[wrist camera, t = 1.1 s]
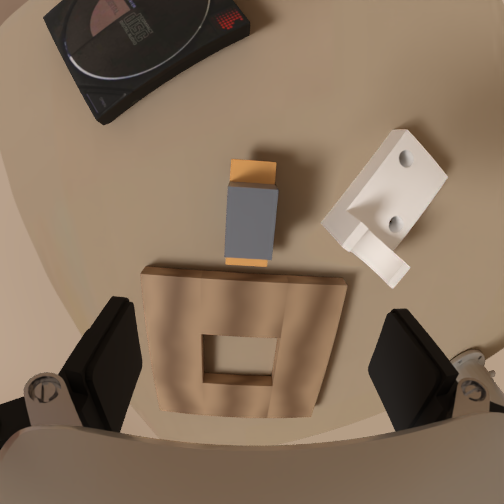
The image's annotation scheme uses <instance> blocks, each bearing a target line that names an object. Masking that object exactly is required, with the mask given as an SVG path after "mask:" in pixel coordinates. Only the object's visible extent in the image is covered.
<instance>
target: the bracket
mask: <svg viewBox="0 0 504 504" xmlns="http://www.w3.org/2000/svg"><path fill="white" fill-rule="evenodd" d="M447 178H448V176H447V175H446V174H445V172H444V171H443V170H442V169H441V167H440V166H439V165H438V164H437V162H436V161H435V160H434V159H433V158H432V156H431V155H430V154H429V153H428V152H427V151H426V149H425V148H424V147H423V146H422V145H421V144H420V143H419V142H418V140H417V139H416V138H415V137H414V136H413V135H412V134H411V133H410V132H409V131H408V130H407V129H397V130H392V131H391V132H390V133H389V135H388V136H387V137H386V139H385V140H384V141H383V143H382V144H381V145H380V147H379V148H378V149H377V151H376V152H375V153H374V155H373V156H372V157H371V159H370V160H369V161H368V163H367V164H366V165H365V167H364V168H363V169H362V170H361V172H360V173H359V174H358V176H357V177H356V178H355V179H354V181H353V182H352V183H351V185H350V186H349V187H348V188H347V190H346V191H345V192H344V194H343V195H342V196H341V197H340V199H339V200H338V201H337V203H336V204H335V205H334V206H333V208H332V209H331V210H330V211H329V213H328V214H327V215H326V216H325V218H324V219H323V220H322V221H321V224H322V225H323V226H324V227H325V228H326V230H327V231H328V232H329V233H330V234H331V235H332V236H333V237H334V238H335V240H336V241H337V242H338V243H339V244H340V245H341V246H342V247H343V248H344V249H346V250H347V251H348V252H350V251H351V252H352V253H354V254H355V255H356V256H357V257H359V258H360V259H361V260H362V261H363V262H365V263H366V264H367V265H368V266H369V267H370V268H371V269H372V270H373V271H375V272H376V273H377V274H378V275H379V276H380V277H381V278H382V279H383V280H384V281H385V282H386V283H387V284H388V285H389V286H390V287H391V288H392V289H393V288H394V287H395V286H396V284H397V283H398V282H399V281H400V280H401V279H402V277H403V276H404V275H405V274H406V273H407V271H408V270H409V269H410V267H409V266H408V265H407V264H406V263H405V262H404V261H403V260H402V259H401V258H400V257H398V256H397V255H396V254H395V253H394V252H393V251H394V250H395V248H396V247H397V246H398V245H399V243H400V242H401V241H402V240H403V238H404V237H405V236H406V235H407V233H408V232H409V231H410V229H411V228H412V227H413V225H414V224H415V223H416V221H417V220H418V219H419V217H420V216H421V215H422V213H423V212H424V211H425V209H426V208H427V207H428V205H429V204H430V202H431V201H432V200H433V198H434V197H435V195H436V194H437V192H438V191H439V190H440V188H441V187H442V185H443V184H444V182H445V181H446V179H447ZM391 219H392V221H391V223H390V224H389V222H390V220H391Z"/></svg>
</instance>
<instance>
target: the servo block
mask: <svg viewBox="0 0 504 504" xmlns="http://www.w3.org/2000/svg"><path fill="white" fill-rule="evenodd" d="M275 174H276V162H268V161H255V160H240V159H231V171H230V182H229V185H228V196H227V215H226V234H225V256H224V257H226V264H227V265H244V266H262V267H267V260H272V252H273V242H274V232H275V222H276V212H277V201H278V188H277V187H276V186H275Z"/></svg>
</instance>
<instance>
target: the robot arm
mask: <svg viewBox="0 0 504 504" xmlns="http://www.w3.org/2000/svg"><path fill="white" fill-rule="evenodd" d="M484 364H485V357H484V355H483V354H482V353H481V352H480V351H479V350H475V349H473V350H468V351H466V352H463V353H461V354H460V355H458V356H456V357H455V358H454V359H452V360H451V361H449V360H448V358H447V357H446V356H445V354H444V353H443V352H442V351H441V349H440V348H439V347H438V346H437V344H436V343H435V342H434V341H433V339H432V338H431V337H430V336H429V334H428V333H427V332H426V331H425V330H424V328H423V327H422V326H421V325H420V324H419V322H418V321H417V320H416V319H415V318H414V316H413V315H412V314H411V313H410V312H409V311H408V310H407V309H393V310H392V311H391V312H390V313H388V314H387V316H386V319H385V322H384V325H383V328H382V331H381V334H380V337H379V339H378V342H377V345H376V348H375V350H374V353H373V356H372V358H371V361H370V364H369V367H368V372H369V375H370V378H371V380H372V382H373V384H374V386H375V388H376V390H377V392H378V394H379V396H380V399H381V401H382V403H383V405H384V407H385V409H386V411H387V413H388V416H389V418H390V420H391V422H392V425H393V427H394V429H395V431H396V432H391V433H386V434H381V435H375V436H369V437H363V438H357V439H350V440H341V441H333V442H324V443H313V444H298V445H275V446H236V445H213V444H199V443H188V442H178V441H170V440H162V439H154V438H147V437H141V436H134V435H129V434H122V433H120V430H121V427H122V424H123V421H124V418H125V415H126V412H127V409H128V406H129V403H130V400H131V397H132V394H133V391H134V389H135V386H136V383H137V380H138V377H139V375H140V372H141V369H142V356H141V350H140V344H139V338H138V331H137V324H136V317H135V310H134V304H133V303H132V302H129V299H128V298H125V297H116V296H112V297H111V299H110V300H109V301H108V303H107V304H106V306H105V307H104V308H103V310H102V311H101V313H100V314H99V316H98V317H97V319H96V320H95V321H94V323H93V324H92V326H91V327H90V329H88V330H87V331H86V332H85V334H84V335H83V337H82V338H81V340H80V341H79V343H78V344H77V346H76V347H75V349H74V350H73V352H72V353H71V355H70V356H69V358H68V360H67V361H66V363H65V365H64V366H63V368H62V369H61V371H60V372H59V374H58V375H57V374H54V373H48V372H46V373H40V374H38V375H35V376H34V377H32V378H31V379H29V381H28V382H27V383H26V385H25V387H24V397H21V398H19V399H15V400H12V401H9V402H6V403H3V404H0V504H504V393H503V392H502V391H501V390H500V388H499V387H498V386H497V384H496V383H495V382H494V380H493V379H492V377H494V376H495V371H494V370H492V371H489V372H488V371H487V370H486V368H485V367H484Z"/></svg>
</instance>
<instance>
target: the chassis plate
mask: <svg viewBox="0 0 504 504" xmlns="http://www.w3.org/2000/svg"><path fill="white" fill-rule="evenodd" d="M140 276H141V287H142V298H143V307H144V316H145V324H146V332H147V339H148V346H149V352H150V359H151V365H152V371H153V377H154V382H155V387H156V393H157V398H158V403H159V408H160V410H163V411H170V412H178V413H187V414H197V415H209V416H223V417H244V418H296V417H311V415H312V412H313V409H314V406H315V403H316V400H317V397H318V394H319V391H320V388H321V384H322V381H323V378H324V375H325V371H326V368H327V364H328V361H329V357H330V354H331V350H332V347H333V343H334V339H335V336H336V332H337V328H338V324H339V320H340V316H341V312H342V308H343V303H344V299H345V295H346V290H347V286H348V285H347V284H346V282H345V281H344V280H343V278H338V277H314V276H293V275H274V274H255V273H237V272H221V271H205V270H190V269H175V268H161V267H147V266H146V267H145V268H144V269H143V271H142V272H141V274H140ZM203 334H208V335H222V336H240V337H263V338H277V344H276V351H275V358H274V364H273V370H272V376H256V375H232V374H216V373H204V350H203Z"/></svg>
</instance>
